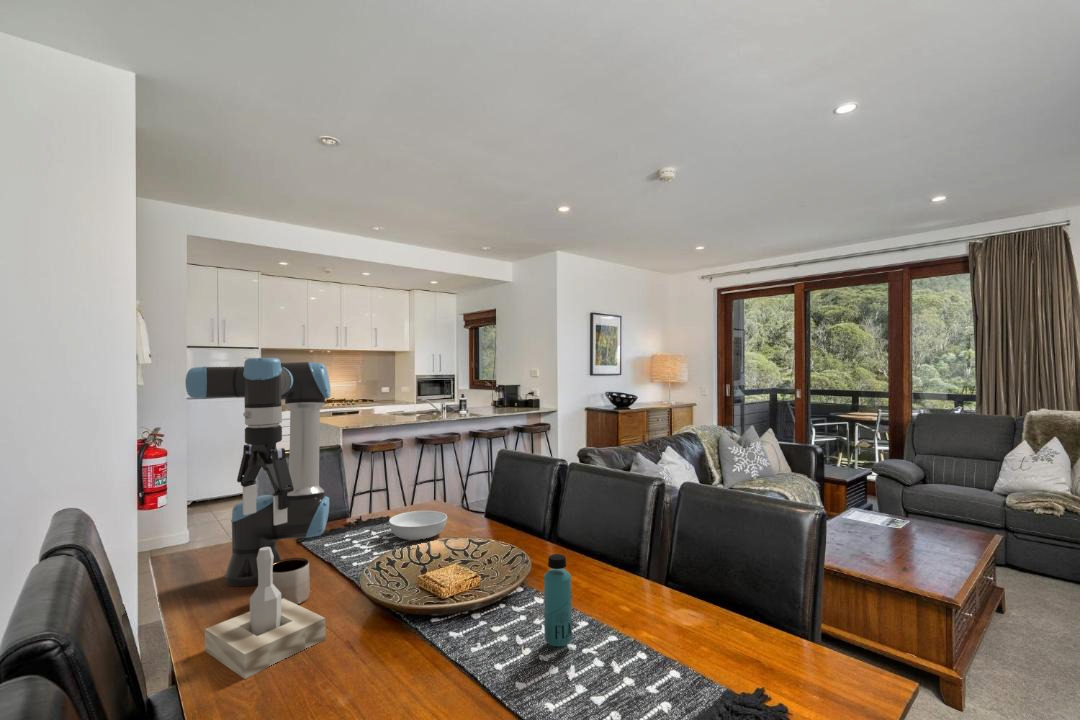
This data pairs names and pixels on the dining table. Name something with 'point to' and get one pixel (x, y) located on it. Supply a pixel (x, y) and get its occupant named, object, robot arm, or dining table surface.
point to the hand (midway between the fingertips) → (264, 518)
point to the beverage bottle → (557, 602)
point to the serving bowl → (418, 524)
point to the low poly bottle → (265, 596)
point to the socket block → (263, 639)
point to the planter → (292, 579)
